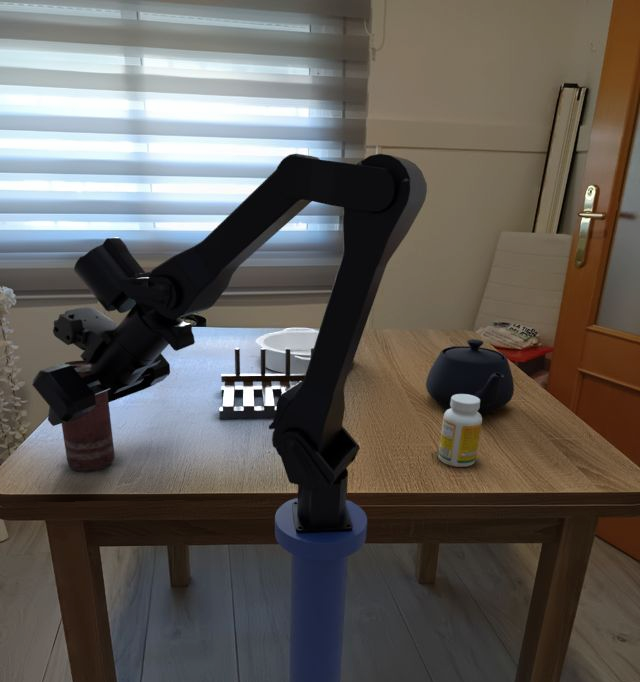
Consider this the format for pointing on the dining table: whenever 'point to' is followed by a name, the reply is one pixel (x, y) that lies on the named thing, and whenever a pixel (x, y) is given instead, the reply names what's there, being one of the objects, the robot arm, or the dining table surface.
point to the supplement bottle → (460, 431)
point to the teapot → (471, 376)
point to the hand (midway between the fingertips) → (78, 411)
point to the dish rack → (255, 390)
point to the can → (89, 432)
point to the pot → (298, 345)
